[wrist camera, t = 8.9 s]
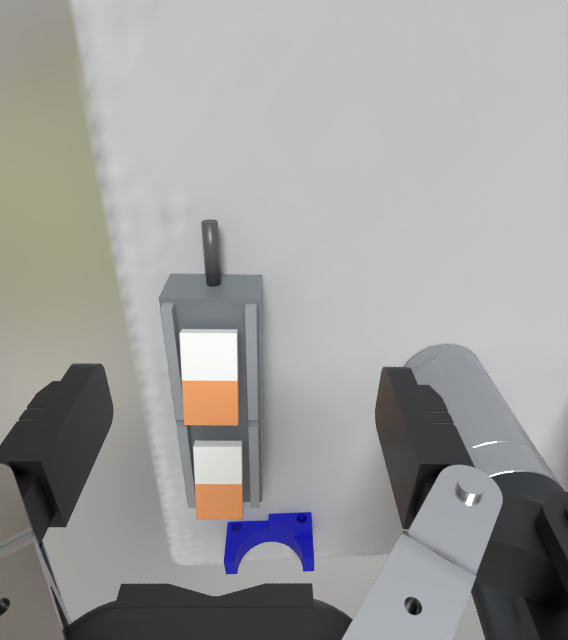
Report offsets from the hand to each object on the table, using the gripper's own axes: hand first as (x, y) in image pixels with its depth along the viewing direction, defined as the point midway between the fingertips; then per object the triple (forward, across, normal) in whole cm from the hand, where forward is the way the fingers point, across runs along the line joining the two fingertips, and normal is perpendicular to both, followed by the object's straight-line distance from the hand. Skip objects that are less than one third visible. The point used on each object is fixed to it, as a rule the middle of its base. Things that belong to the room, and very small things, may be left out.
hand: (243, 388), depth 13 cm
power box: (+30, +5, +22) cm, 37 cm away
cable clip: (+30, 0, +50) cm, 59 cm away
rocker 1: (+23, +5, +18) cm, 29 cm away
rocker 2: (+23, +5, +32) cm, 39 cm away
